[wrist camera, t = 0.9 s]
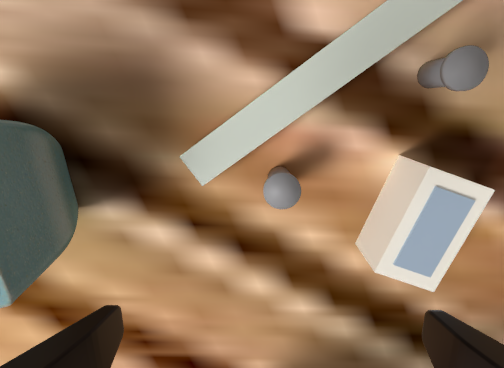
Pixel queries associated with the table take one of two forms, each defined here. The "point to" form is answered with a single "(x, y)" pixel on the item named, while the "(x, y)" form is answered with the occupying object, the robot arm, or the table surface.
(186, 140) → the table surface
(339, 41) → the rail
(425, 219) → the cream rectangular block
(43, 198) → the flower pot
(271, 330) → the table surface
